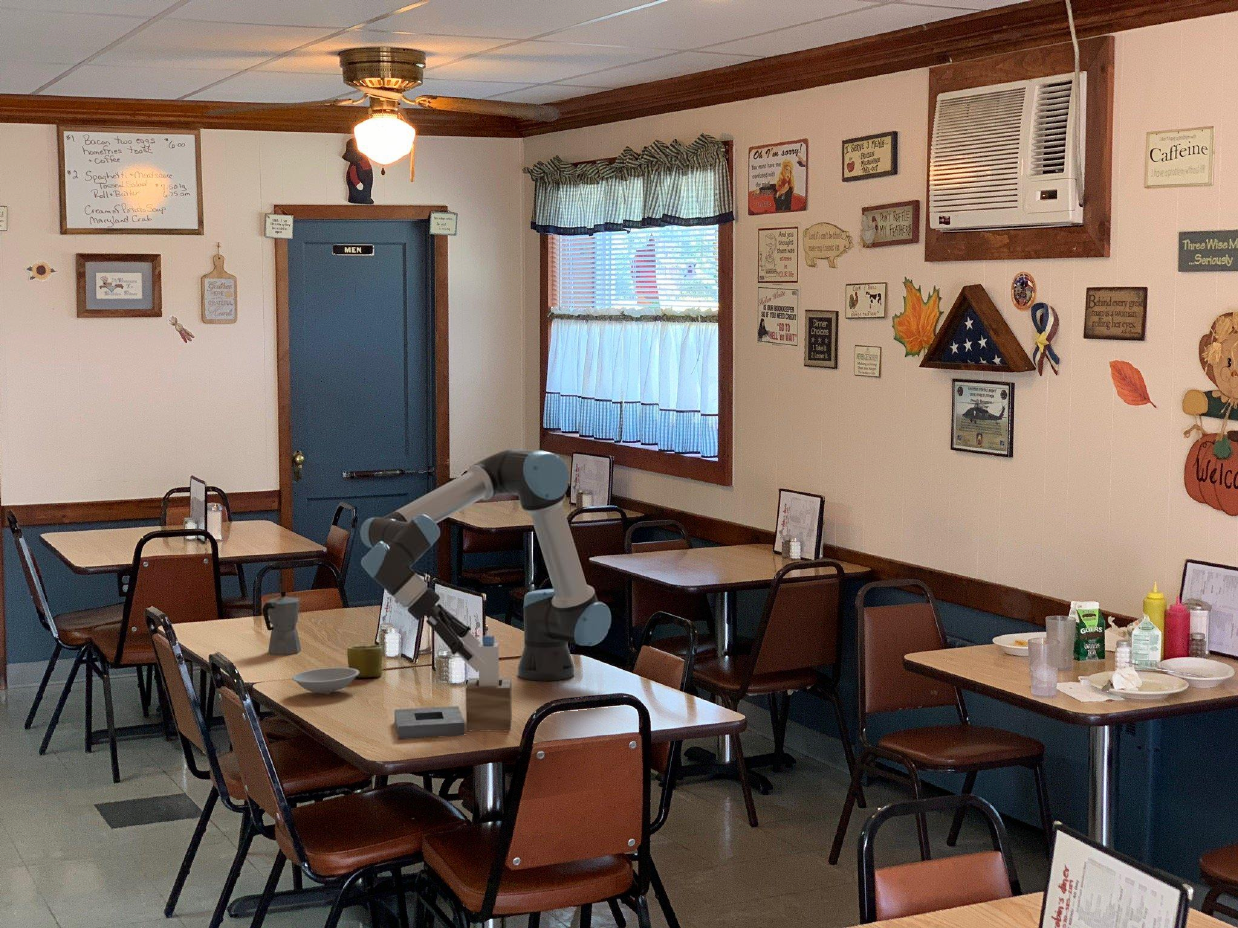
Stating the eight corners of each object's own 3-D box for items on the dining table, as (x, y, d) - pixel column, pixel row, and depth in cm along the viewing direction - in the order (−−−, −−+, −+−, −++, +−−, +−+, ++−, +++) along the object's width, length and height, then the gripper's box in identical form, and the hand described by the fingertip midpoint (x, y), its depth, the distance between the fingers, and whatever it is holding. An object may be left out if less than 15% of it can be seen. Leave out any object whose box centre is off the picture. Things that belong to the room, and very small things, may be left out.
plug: (480, 693, 333) (479, 634, 332) (499, 693, 333) (498, 634, 332) (479, 697, 329) (478, 638, 328) (498, 697, 329) (497, 638, 328)
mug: (379, 674, 374) (371, 638, 376) (345, 684, 376) (336, 648, 378) (398, 673, 386) (390, 637, 388) (365, 683, 388) (356, 647, 390)
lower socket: (458, 718, 338) (458, 705, 337) (464, 735, 323) (464, 722, 323) (394, 721, 334) (394, 709, 334) (398, 739, 320) (398, 726, 320)
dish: (309, 704, 351) (308, 684, 350) (281, 694, 361) (280, 674, 361) (371, 693, 362) (370, 673, 362) (342, 683, 373) (341, 664, 373)
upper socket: (469, 719, 336) (468, 678, 336) (511, 719, 337) (511, 677, 336) (466, 731, 326) (465, 688, 326) (510, 730, 327) (509, 687, 326)
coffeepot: (286, 645, 419) (285, 585, 417) (312, 648, 415) (310, 588, 413) (251, 656, 405) (249, 594, 404) (277, 659, 401) (275, 596, 400)
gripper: (412, 599, 341) (475, 660, 342) (399, 619, 316) (467, 685, 317) (434, 577, 340) (497, 638, 342) (423, 595, 315) (491, 661, 317)
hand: (483, 661), depth 330 cm, fingers open, 13 cm apart
